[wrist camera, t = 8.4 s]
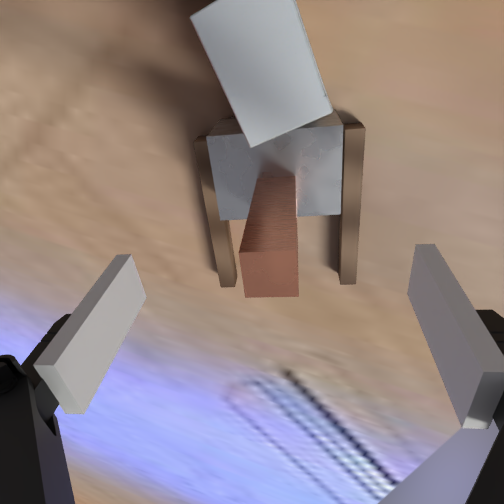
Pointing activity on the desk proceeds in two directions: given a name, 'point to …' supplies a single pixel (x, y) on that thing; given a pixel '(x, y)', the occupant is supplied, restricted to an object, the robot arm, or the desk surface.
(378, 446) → the desk surface
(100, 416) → the desk surface
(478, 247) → the desk surface
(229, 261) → the frame
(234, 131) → the mallet
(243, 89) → the small box
